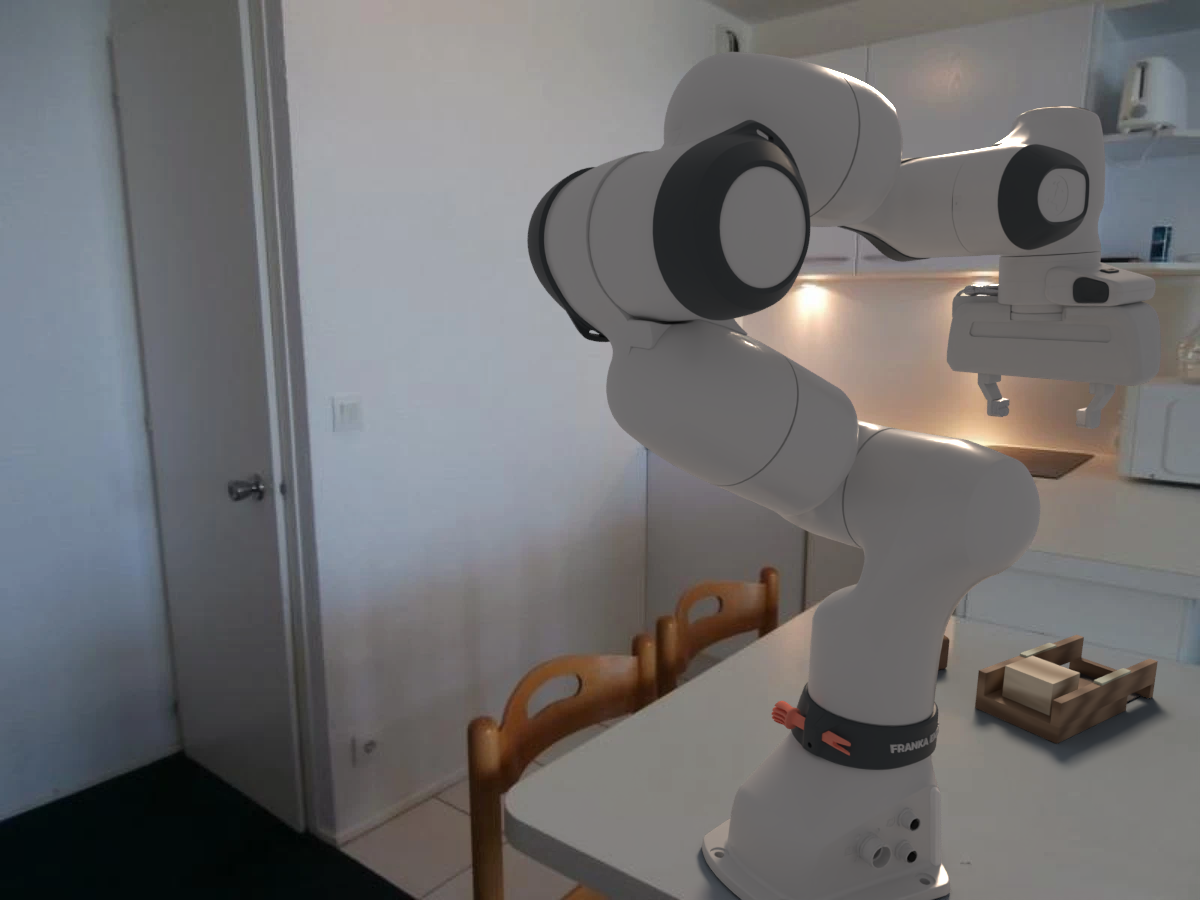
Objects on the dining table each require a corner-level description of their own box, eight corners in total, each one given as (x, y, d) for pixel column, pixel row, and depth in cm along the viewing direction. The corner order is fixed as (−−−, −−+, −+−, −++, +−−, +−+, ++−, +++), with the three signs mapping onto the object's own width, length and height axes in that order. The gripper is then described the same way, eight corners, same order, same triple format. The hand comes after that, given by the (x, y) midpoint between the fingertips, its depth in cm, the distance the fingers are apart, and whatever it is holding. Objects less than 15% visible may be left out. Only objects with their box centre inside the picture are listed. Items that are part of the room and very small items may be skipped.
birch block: (1049, 715, 101) (1053, 684, 100) (1002, 695, 106) (1005, 665, 105) (1076, 703, 104) (1080, 672, 103) (1029, 685, 109) (1032, 655, 108)
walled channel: (1056, 743, 98) (1061, 701, 97) (974, 707, 107) (978, 668, 106) (1152, 697, 111) (1158, 659, 110) (1072, 668, 119) (1076, 632, 118)
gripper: (935, 287, 91) (933, 414, 94) (1140, 285, 74) (1129, 440, 77) (971, 282, 94) (967, 405, 97) (1175, 280, 77) (1163, 429, 80)
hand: (1040, 421), depth 87 cm, fingers open, 8 cm apart
